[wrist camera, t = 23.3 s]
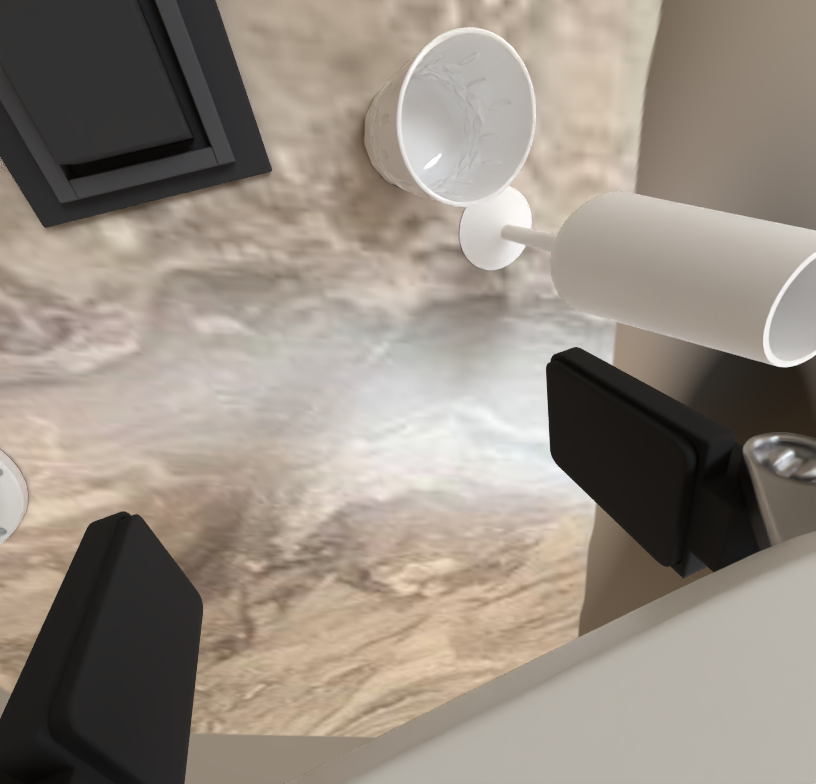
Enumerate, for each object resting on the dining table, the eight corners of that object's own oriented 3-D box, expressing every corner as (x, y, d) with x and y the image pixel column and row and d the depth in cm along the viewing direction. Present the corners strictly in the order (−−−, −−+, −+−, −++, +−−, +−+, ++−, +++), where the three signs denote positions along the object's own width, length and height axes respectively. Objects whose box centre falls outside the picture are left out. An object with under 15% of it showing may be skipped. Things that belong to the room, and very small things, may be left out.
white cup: (356, 58, 28) (403, 10, 19) (467, 78, 30) (551, 43, 22) (353, 192, 31) (391, 201, 23) (452, 200, 34) (520, 211, 25)
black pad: (82, 165, 25) (56, 164, 22) (6, 23, 22) (-38, -3, 19) (195, 139, 26) (186, 134, 23) (139, 0, 23) (119, -28, 20)
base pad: (50, 226, 27) (33, 231, 25) (-107, -32, 21) (-148, -55, 19) (271, 170, 29) (273, 170, 27) (189, -76, 23) (183, -101, 21)
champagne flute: (537, 253, 38) (865, 349, 18) (469, 282, 37) (731, 417, 17) (525, 171, 34) (917, 174, 14) (450, 202, 34) (751, 250, 13)
